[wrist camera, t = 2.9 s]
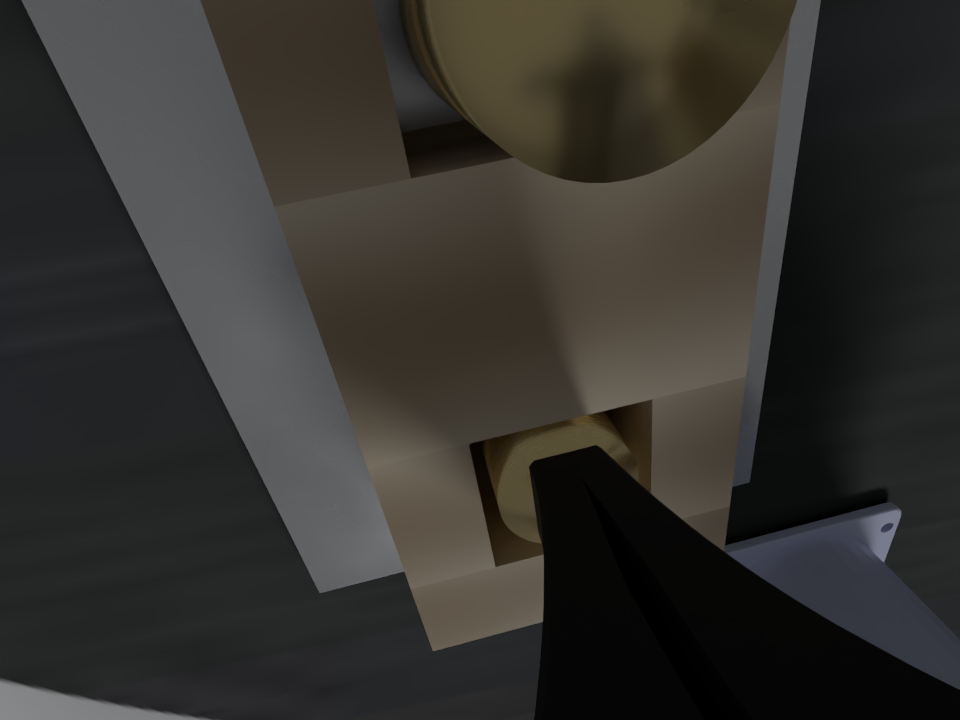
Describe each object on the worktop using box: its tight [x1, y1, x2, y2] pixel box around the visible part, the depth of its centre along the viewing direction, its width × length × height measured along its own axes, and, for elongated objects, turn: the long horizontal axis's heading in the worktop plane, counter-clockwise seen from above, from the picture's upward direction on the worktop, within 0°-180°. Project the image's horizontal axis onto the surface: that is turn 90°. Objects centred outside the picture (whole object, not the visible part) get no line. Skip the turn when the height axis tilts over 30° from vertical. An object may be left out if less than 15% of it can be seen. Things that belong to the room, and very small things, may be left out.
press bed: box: [22, 0, 821, 593], centre depth 12 cm, size 20×14×1 cm
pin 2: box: [480, 411, 639, 544], centre depth 12 cm, size 3×3×4 cm
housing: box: [200, 0, 791, 651], centre depth 10 cm, size 16×7×4 cm, turn 9°
